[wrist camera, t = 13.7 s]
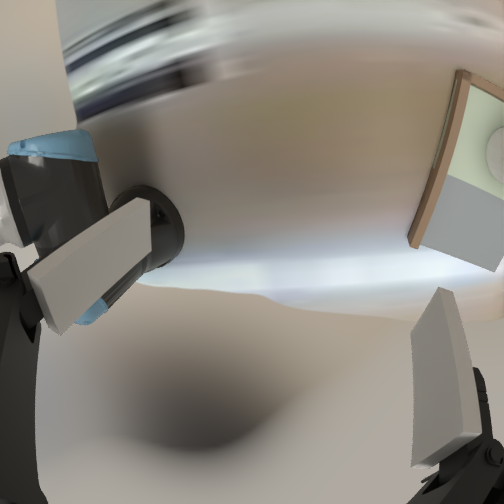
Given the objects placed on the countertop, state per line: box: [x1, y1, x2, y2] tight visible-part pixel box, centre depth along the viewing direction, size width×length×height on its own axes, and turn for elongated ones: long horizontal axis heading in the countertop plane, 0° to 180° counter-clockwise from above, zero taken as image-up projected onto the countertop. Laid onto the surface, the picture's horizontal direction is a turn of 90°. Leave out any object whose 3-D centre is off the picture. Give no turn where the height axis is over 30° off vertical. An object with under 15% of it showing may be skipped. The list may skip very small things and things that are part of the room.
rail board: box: [407, 69, 504, 272], centre depth 29 cm, size 16×24×3 cm, turn 172°
